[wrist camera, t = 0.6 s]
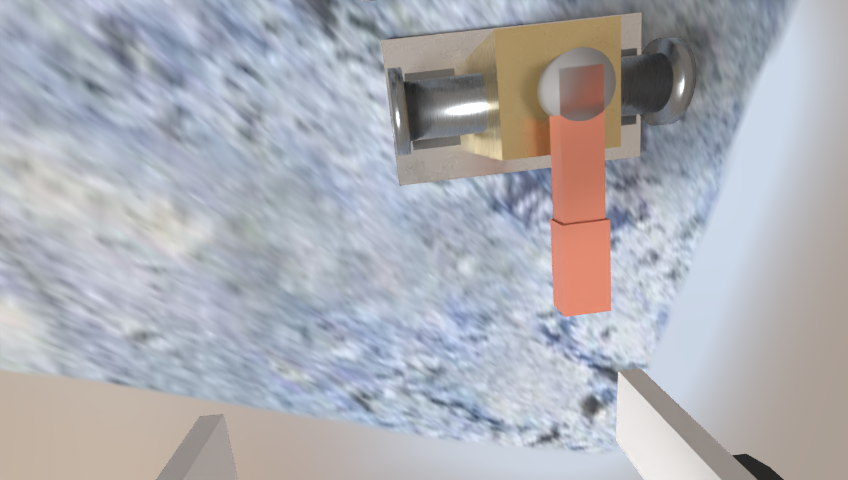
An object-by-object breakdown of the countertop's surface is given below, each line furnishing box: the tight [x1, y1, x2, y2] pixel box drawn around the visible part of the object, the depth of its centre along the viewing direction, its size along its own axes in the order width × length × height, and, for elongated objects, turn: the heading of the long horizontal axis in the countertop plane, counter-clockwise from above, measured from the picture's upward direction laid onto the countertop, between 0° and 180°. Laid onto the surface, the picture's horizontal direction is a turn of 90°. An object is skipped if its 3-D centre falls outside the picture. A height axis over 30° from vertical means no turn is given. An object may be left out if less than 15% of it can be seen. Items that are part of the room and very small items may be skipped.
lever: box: [537, 47, 616, 317], centre depth 27 cm, size 16×4×2 cm, turn 6°
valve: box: [381, 12, 696, 186], centre depth 33 cm, size 12×22×12 cm, turn 96°
